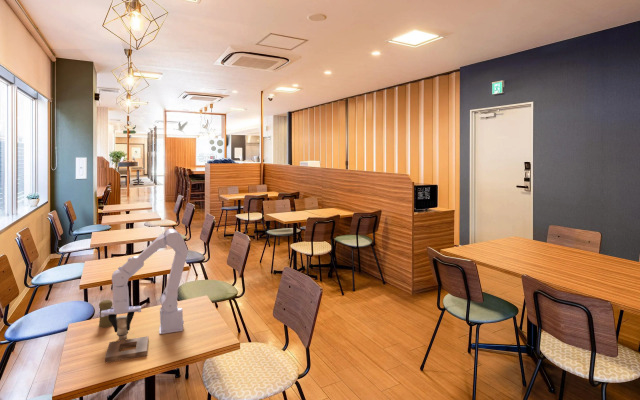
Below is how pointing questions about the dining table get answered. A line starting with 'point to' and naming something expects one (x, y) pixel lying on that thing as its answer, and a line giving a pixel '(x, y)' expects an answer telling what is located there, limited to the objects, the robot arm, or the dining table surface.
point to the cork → (104, 320)
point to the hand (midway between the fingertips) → (122, 330)
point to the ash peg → (122, 327)
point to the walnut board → (116, 354)
